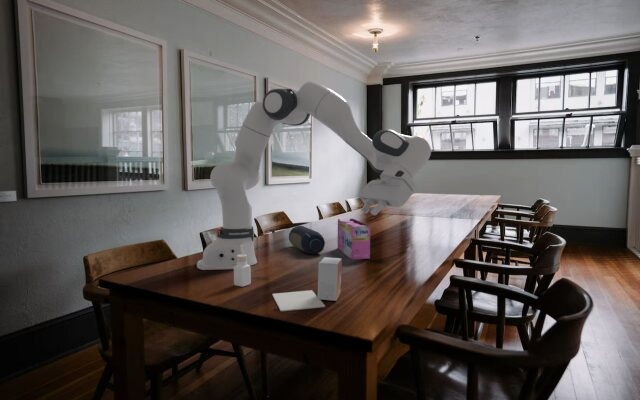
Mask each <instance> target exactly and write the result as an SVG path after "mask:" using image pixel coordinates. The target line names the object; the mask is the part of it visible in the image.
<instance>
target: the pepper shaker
mask: <svg viewBox="0 0 640 400" xmlns="http://www.w3.org/2000/svg"><path fill="white" fill-rule="evenodd" d="M251 274H252V273H251V266H249V265H247V255H244V254H242V255H237V265H236V266H234V269H233V284H234V286H237V287H242V288H243V287H246V286H249V285H251V282H252V281H251V280H252V279H251V278H252V277H251V276H252V275H251Z"/></svg>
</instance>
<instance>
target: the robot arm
mask: <svg viewBox="0 0 640 400" xmlns="http://www.w3.org/2000/svg"><path fill="white" fill-rule="evenodd" d="M310 116H311V117H313V118H314V119H316V120H317V121H319V122H320V123H321V124H323V125H324V126H325V127H326V128H328V129H329V130H331V131H332V132H333V133H335V134H336V135H337V136H338V137H339V138H341V139H342V140H343V141H344V142H345V143H346V144H347V145H348V146H350V147H351V148H352V149H353V150H355V152H357V153H358V154H359V155H361V156H362V157H363V158H364V159H365V160H366V161H367V162H368V164H369V165H370V167H371V169H372V170H373V171H374V172H375V173H377V174H379V177H380V178H376V179H373V180H371V181H369V182H368V183H367V184H365V186H364V187H363V188H362V189H360V191H359V193H358V196H357V197H358V198H359V199H360V200H361V201H362V202H363V203H364V204H363V207H362V208H361V209H360V211H361V212H362V213H363V214H365V215H366V214H368V213H370V214H371V215H372V216H377V215H378V214H379V212H381V211H383V210H384V209H386V208H387V207H392V208H398V209H399V208H401V207H403V206H404V205H406V203H407V202H408V201H409V199H410V198H411V197H412V195H413V193H415V192H416V191H417V190H418V188H419V186H418V185H417V184H416V182H415V181H414V178H415V176H416V175H417V174H418V173H420V172H421V170H422V169H423V168H424V167H425V165H426V164H427V162H428V161H429V159H430V157H431V155H432V149H431V146H430V143H429V142H428V140H426V139H425V138H424V137H422V136H420V135H411V136H410V135H406V134H402V133H400V132H397V131H396V130H394V129H390V128H384V129H380V130H378V131H377V132H376V133H374V135H373V137H372V139H371V138H370V137H369V136H368V135H366V134H365V133H364V132H363V131H362V130H361V129H360V128H359V126H358V125H357V122H356V121H355V118H354V114H353V111H352V109H351V104H349V102H348V101H347V100H346V99H345V98H344V97H343V96H342V95H341V94H339V93H337V92H336V91H334V90H333V89H331V88H329V87H327V86H325V85H323V84H321V83H318V82H316V81H307V82H305V83H304V84H302V86H301V87H300V88H299V89H298V90H297V91H295V90H293V89H292V88H274V89H271V90H269V91H267V92H266V94H265V95H264V96H263V99H262V100H257V101H256V102H254V103H253V105H252V106H251V107H250V109H249V110H248V113H247V114H246V116H245V119H244V121H243V123H242V125H241V127H240V128H239V129H240V130H239V132H238V133H237V136H236V139H235V141H234V146H235V155H234V159H233V161H225V162H223V163H220V164H217V165H216V166H215V167H213V169H212V170H211V172H210V175H209V177H210V182H211V184H212V186H213V188H214V189H215V190H216V191H217V194H218V197H219V200H220V205H221V210H222V227H217V228H215V231H216V234H217V238H216V239H215V240H213V241H211V243H209V244H208V245H207V246H206V247H205V248H204V251H203V253H202V259H200V260H198V261H197V262H196V267H197V269H199V270H202V271H206V270H209V271H210V270H234V266H236V265H237V255H242V254H244V255H247V265H249V266H250V267H251V266H253V265H256V264H257V263H258V261H257V260H258V259H257V257H256V252H255V247H254V239H255V235H254V234H255V233H254V232H255V229H254V226H253V207H252V205H251V203H250V202H249V200H248V196H247V192H246V191H247V190H250V189H252V188H254V187H255V186H256V185H258V184H259V182H260V179H261V174H260V167H261V164H262V163H261V161H262V159H263V155H264V152H265V150H266V147H267V145H268V143H269V140H270V138H271V136H272V134H273V131H274V129H275V127H276V126H277V125H278V124H282V125H287V126H296V127H297V126H302V125H304V124H306V123H307V122H308V121H309V119H310ZM373 205H375V206H374V207H372V206H373ZM371 207H372V208H371ZM370 208H371V209H370Z"/></svg>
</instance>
